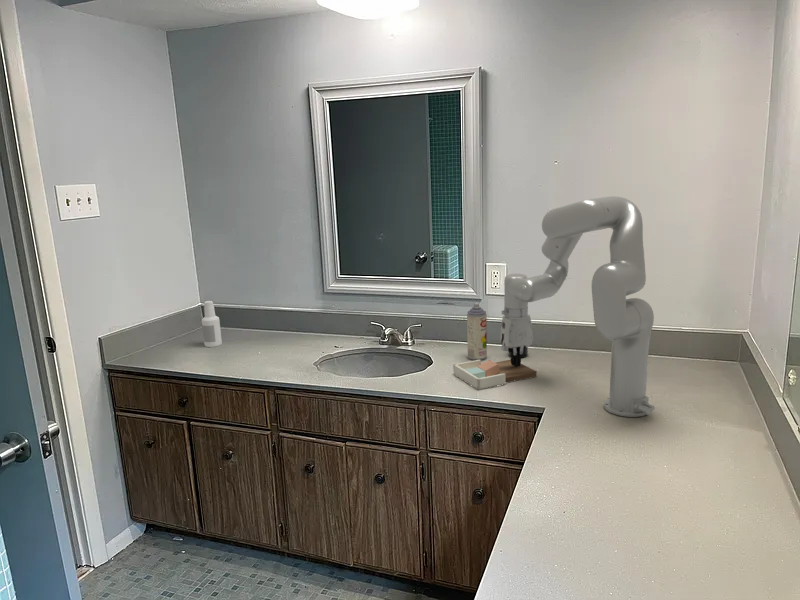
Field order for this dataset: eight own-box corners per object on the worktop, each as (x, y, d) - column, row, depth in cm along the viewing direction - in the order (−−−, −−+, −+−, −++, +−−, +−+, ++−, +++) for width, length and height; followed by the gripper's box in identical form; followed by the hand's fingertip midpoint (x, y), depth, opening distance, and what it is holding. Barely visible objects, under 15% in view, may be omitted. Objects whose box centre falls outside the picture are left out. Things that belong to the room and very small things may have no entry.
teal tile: (485, 380, 197) (485, 371, 197) (472, 383, 195) (472, 374, 195) (477, 375, 202) (477, 366, 201) (464, 378, 200) (464, 369, 199)
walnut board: (536, 376, 200) (536, 371, 199) (505, 383, 195) (505, 377, 195) (512, 364, 212) (512, 359, 212) (482, 370, 208) (482, 364, 207)
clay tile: (499, 372, 199) (497, 364, 198) (487, 378, 198) (485, 370, 197) (491, 367, 204) (489, 359, 203) (479, 374, 202) (476, 366, 201)
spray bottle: (204, 343, 251) (199, 300, 247) (221, 341, 253) (217, 299, 249) (204, 348, 245) (199, 304, 241) (222, 346, 247) (217, 302, 243)
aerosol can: (483, 361, 216) (483, 306, 212) (465, 359, 219) (464, 305, 214) (489, 355, 222) (488, 302, 218) (470, 353, 225) (470, 300, 220)
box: (505, 384, 194) (505, 374, 193) (478, 390, 190) (477, 379, 190) (479, 369, 209) (479, 359, 208) (453, 374, 205) (453, 364, 204)
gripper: (503, 317, 194) (503, 372, 198) (541, 311, 200) (541, 364, 204) (490, 312, 200) (490, 365, 205) (528, 306, 206) (527, 358, 211)
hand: (515, 365), depth 204 cm, fingers closed
